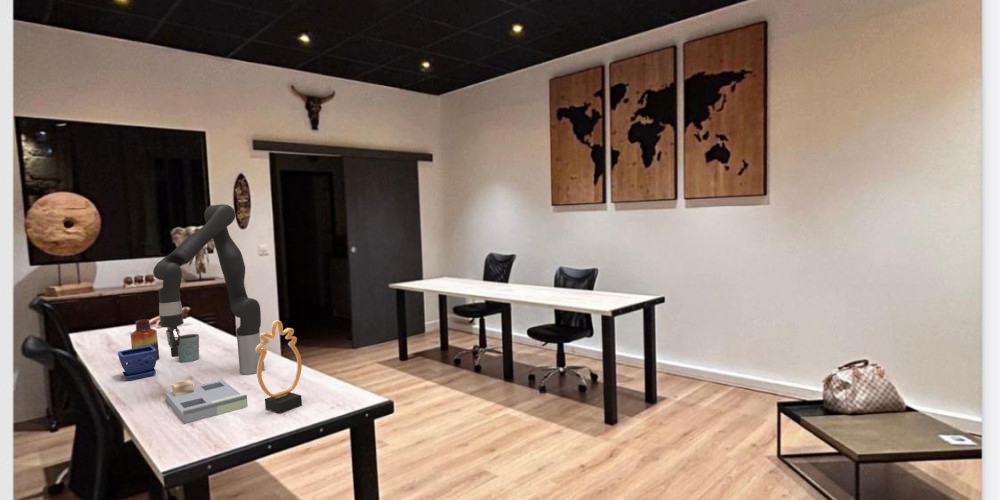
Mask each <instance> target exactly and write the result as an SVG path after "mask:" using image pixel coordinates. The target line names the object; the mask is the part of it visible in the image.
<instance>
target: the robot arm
mask: <svg viewBox="0 0 1000 500" xmlns="http://www.w3.org/2000/svg"><path fill="white" fill-rule="evenodd" d="M235 219H236V212H235V209H234V208H233V207H232V206H230V205H228V204H224V203H223V204H222V203H220V204H214V205H213V204H212V205H209V206H207V207H206V209H205V211H204V221H205V224H204V225H203V226H201V227H200V228H199V229H198V230H197V229H196V231H194V232H193V233H191V234H190V235H189V236H188V237H186V238H185V239H184V240H183V241H181V243H180V244H179V245H177V247H175V249H174V250H173V251H172V252H171V253H169V254H168V255H166V256H165V257H164V258H161V260H160V261H159V262H157V263H156V265H155V266H154V267H153V271H152V273H153V276H154V278H155V279H157V280H160V281H162V287H160V288H159V289H158V300H159V302H158V303H159V304H158V305H159V307H158V309H159V322H160V327H162V328H166V329H167V330H165V334H166V338H167V343H168V346H169V348H170V356H171V357H172V358H178V346H179V342H180V336H181V335H180V329H179V328H178V326H181V325H183V324H184V317H183V316H184V315H183V306H182V302H181V292H180V289H181V284H182V278H183V272H182V268H181V266H184V265H186V264H189V263H190V262H191V261H192V260H193V259H194V257H197V255H198V253H199V252H200V251H201V250H202V249H203V248H204V247H206V245H207V244H208V243H209V242H211V240H213V243H214V244H213V245H214V248H215V251H216V254H217V257H218V258H217V259H218V262H219V264H220V265H219V266H220V268H221V271H222V274H223V278H224V282H225V285H226V288H227V292H228V299H229V304H230V309H231V312H232V315H234V316H235V317H236V318H239V327H237V328H236V341H237V353H238V362H239V363H238V367H239V374H241V375H252V374H257V365H258V361H259V357H260V355H261V353H257V352H256V351H255V348H256V347H257V345H259V344H260V343H262V342H261V339H260V334H261V332H260V331H261V330H260V328H261V326H262V325H261V324H262V315H261V314H262V313H261V305H260V302H259V301H258V300H257V299H255V298H251V297H249V296H248V294H247V291H246V287H245V277H246V264H245V261H244V257H243V254H242V252H241V250H240V248H239V247H238V245H237V244H236V243H235V242H234V240H233V239H232V237H231V235H230V234H229V233H230V232H229V230H228V229H229V228H228V227H229V226H230V225H231V224H233V222H234V221H235ZM264 363H265V361H263V364H262V371H265V364H264Z"/></svg>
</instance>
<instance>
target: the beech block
mask: <svg viewBox="0 0 1000 500" xmlns="http://www.w3.org/2000/svg"><path fill="white" fill-rule="evenodd" d="M193 386H194V382H192V381H191V380H190V379H188V380H183V381H178V382H174V383H171V392H172V393H173V394H174V395H175V396H180V395H184V394H188V393H193V392H194V388H193Z"/></svg>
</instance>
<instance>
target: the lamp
mask: <svg viewBox="0 0 1000 500" xmlns="http://www.w3.org/2000/svg"><path fill="white" fill-rule="evenodd" d="M276 328H277V331H278V334H279V335H280V336H284V335H286V336H285V340H290V341H288V343H287V345H288V346H289V347H290V348H291V349H292V351H293V353H294V355H295V357H296V363H297V366H296V373H295V377H294V379H293V381H292V384H291V385H290V387H289V388H287V389H284V390H280V391H277V392H274V393H271V392H270V391H269V389H268V388H267V387H266V385H265V383H264V380H263V375H262V371H263V370H262V364H263V361H264V360H265V358H266V356H267V353H268V349H267V348H263V347H265V346H266V345H268V344H269V343H270V340H269V339H274V338H275V336H276ZM294 332H295V330H294V328H292V327H286V328H285V329H284V325H283V323H282V321H281V320H279V319H277V320H276V319H275V320H274V321H273V322H272V323H271V325H270V333H268V332H262V333H261V332H260V341H261V340H262V342H261V343H260V344H259V345H257V347H256V348H255V351H256V352H257V353H261V355H260V357H259V361H258V365H257V373H256V378H257V382H258V385H259V387H260V389H261V390H262V391H263V393H264V394H265V395H266V396H269V397H267V398H265V399H264V405H265V410H267V411H270V412H273V413H276V414H278V415H279V414H280V415H281V414H284V413H285V412H288V411H290V410H293V409H296V408H299V407H302V406H303V401H302V395H301V394H298V393H294V392H292V391H294V390H295V388H296V387H297V385H298V383H299V380H300V377H301V375H302V374H301V373H302V368H303V365H302V364H303V362H302V356H301V354H300V352H299V349H298V348H297V346H296V343H297V339H298V338H297V337H296V336H293V335H294ZM268 338H269V339H268ZM264 362H265V361H264Z"/></svg>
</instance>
